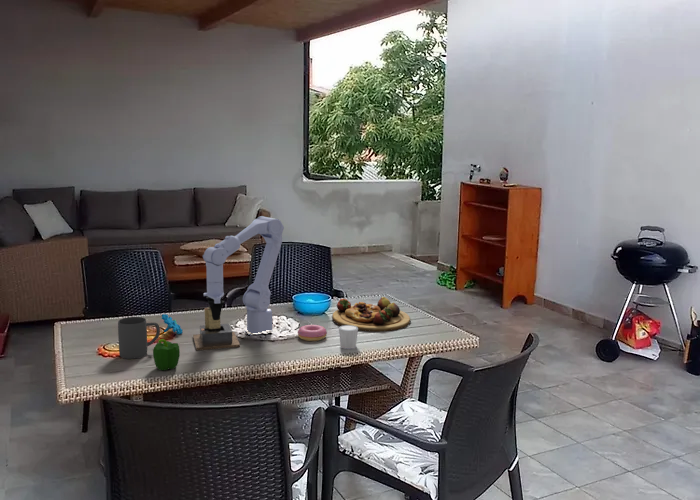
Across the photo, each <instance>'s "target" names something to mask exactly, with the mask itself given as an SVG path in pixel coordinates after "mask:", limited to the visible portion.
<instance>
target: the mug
mask: <svg viewBox="0 0 700 500" xmlns="http://www.w3.org/2000/svg"><path fill="white" fill-rule="evenodd" d="M150 326H155V328H156V329H155V330H156V334H155V336H154V337H153V338H152V339H151V340H149V341H148V329H147V327H150ZM160 328H161V327H160V325H159V324H158V323H157V322H147V319H146V318H145V317H141V316H129V317H124V318H121V319H119V320H118V322H117V331H118V332H117V336H118V351H119V352H118V353H119V357H120V358H122V359H127V360H136V359H140V358H143V357H146V356H147V355H148V346H149V347H150V346H151V345H153V344H154V343H155V342H156V341H157V340H158V339H159V337H160V334H161V333H160V332H161V329H160Z"/></svg>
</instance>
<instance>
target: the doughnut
mask: <svg viewBox="0 0 700 500" xmlns="http://www.w3.org/2000/svg"><path fill="white" fill-rule="evenodd" d="M327 334H328V331H327V328H325V326H323V325H318V324H306V325H302V326H299V328H298V330H297V336H298V338H299V339H301V340H303V341H305V342H306V341H307V342H316V341H317V342H318V341H323V340H324V339H325V338H326V336H327Z"/></svg>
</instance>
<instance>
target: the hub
mask: <svg viewBox="0 0 700 500" xmlns="http://www.w3.org/2000/svg"><path fill="white" fill-rule="evenodd" d="M220 327H221V328H218V329H209V328H205V324H204V325H199V334H192V338H193V342H194V345H195V346H194V347H195V350H196V351H208V350H209V351H210V350H220V349H233V348H240V346H241V344H240V341H239V339H238V337H237V335H236V333H235V331H232V328H231V326H230V324H229V323H220Z"/></svg>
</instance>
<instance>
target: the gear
mask: <svg viewBox="0 0 700 500" xmlns="http://www.w3.org/2000/svg"><path fill="white" fill-rule="evenodd" d="M161 320H163V323H164V324H166V325H167V326H166V327H165V329H164V330H163V331H164V332H166V333H167V332H168V331H169V330H171V329H172V330H171V331H173V333H176V334H177V335H182V334H183V329H182V327H181V325H180V324H178V322H177V320H176V319H175V318H174V319H173V318H172V317H171V316H169V315H168V314H166V313H165V314H164V313H163V314H162V315H161Z"/></svg>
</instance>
